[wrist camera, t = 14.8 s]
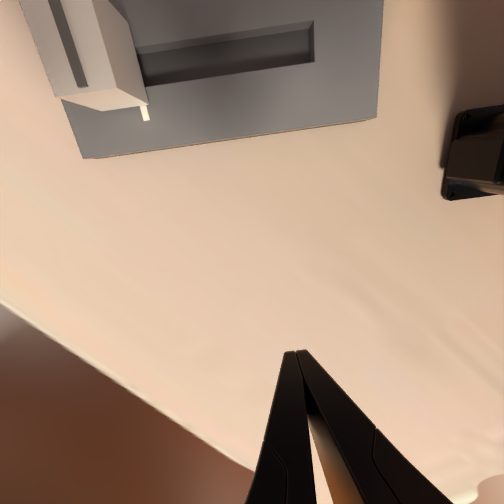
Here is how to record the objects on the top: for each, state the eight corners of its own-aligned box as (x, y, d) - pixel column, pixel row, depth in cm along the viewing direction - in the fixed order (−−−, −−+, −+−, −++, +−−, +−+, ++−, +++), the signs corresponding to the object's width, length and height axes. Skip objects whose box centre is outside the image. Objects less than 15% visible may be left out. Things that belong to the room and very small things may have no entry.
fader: (135, 31, 14) (80, -31, 10) (154, 107, 16) (114, 86, 11) (87, 39, 14) (8, -19, 10) (110, 113, 16) (52, 96, 11)
